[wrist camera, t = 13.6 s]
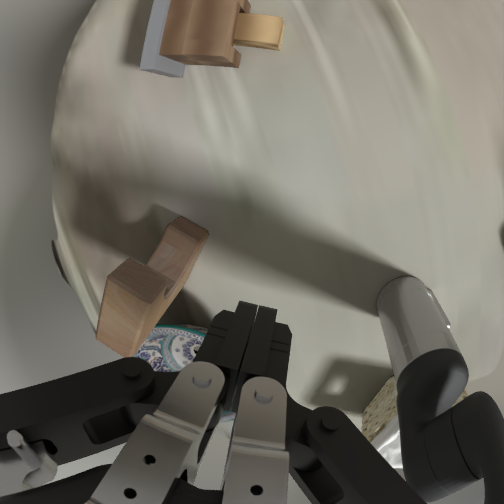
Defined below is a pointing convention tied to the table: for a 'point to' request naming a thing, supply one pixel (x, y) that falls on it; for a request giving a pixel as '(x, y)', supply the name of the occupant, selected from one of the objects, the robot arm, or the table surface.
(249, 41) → the tan wooden block
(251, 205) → the table surface
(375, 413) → the storage basket
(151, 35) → the wall
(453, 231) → the table surface
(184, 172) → the table surface
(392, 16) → the table surface
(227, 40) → the socket block
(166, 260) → the decorative block
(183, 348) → the bowl
